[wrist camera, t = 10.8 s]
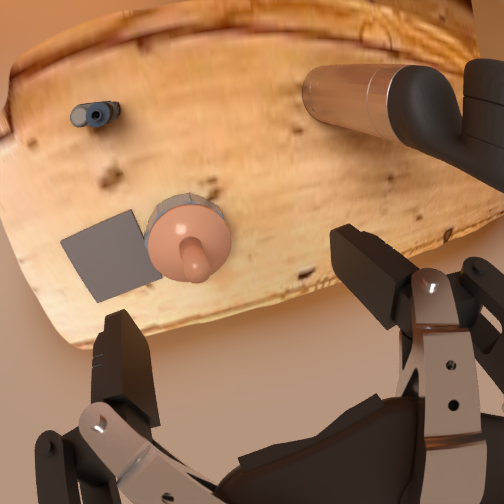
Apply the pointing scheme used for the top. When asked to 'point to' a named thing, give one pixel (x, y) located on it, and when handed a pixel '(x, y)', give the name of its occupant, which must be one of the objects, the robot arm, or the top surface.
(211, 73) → the top surface
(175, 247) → the lid
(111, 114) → the vaping device
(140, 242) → the mat
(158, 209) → the bowl
